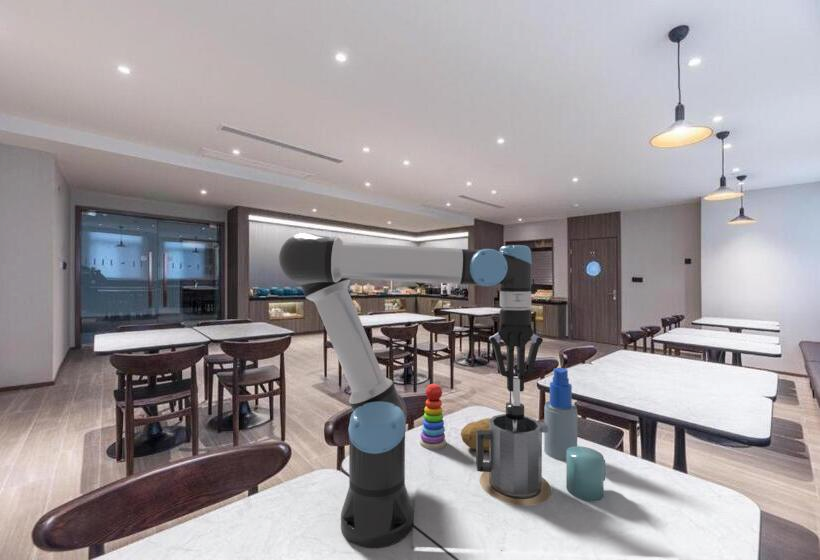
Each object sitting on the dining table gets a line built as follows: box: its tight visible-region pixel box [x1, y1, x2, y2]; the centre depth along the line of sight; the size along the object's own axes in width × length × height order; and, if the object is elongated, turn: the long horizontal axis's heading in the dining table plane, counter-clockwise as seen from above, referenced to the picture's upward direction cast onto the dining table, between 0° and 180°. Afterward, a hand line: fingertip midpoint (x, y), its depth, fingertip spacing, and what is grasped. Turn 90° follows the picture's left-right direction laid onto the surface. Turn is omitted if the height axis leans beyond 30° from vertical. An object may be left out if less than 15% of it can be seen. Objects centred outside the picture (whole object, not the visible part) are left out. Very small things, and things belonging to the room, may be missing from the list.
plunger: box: [505, 401, 525, 432], centre depth 90 cm, size 9×9×12 cm
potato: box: [460, 417, 492, 452], centre depth 109 cm, size 9×16×9 cm, turn 88°
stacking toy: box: [419, 383, 447, 450], centre depth 112 cm, size 8×8×19 cm
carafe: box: [475, 413, 548, 499], centre depth 90 cm, size 17×12×15 cm
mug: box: [565, 445, 606, 502], centre depth 87 cm, size 10×8×10 cm
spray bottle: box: [543, 367, 578, 462], centre depth 106 cm, size 9×9×25 cm
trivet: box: [479, 472, 553, 507], centre depth 90 cm, size 17×17×1 cm
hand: (515, 404), depth 90 cm, fingers closed
